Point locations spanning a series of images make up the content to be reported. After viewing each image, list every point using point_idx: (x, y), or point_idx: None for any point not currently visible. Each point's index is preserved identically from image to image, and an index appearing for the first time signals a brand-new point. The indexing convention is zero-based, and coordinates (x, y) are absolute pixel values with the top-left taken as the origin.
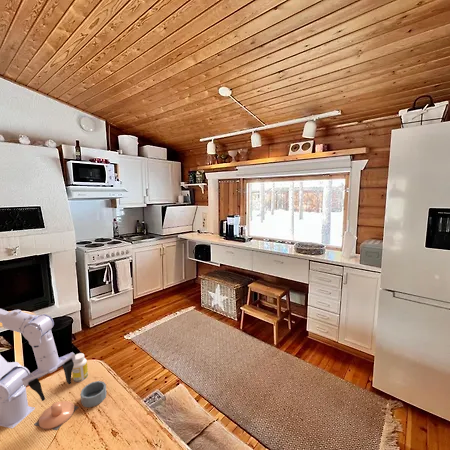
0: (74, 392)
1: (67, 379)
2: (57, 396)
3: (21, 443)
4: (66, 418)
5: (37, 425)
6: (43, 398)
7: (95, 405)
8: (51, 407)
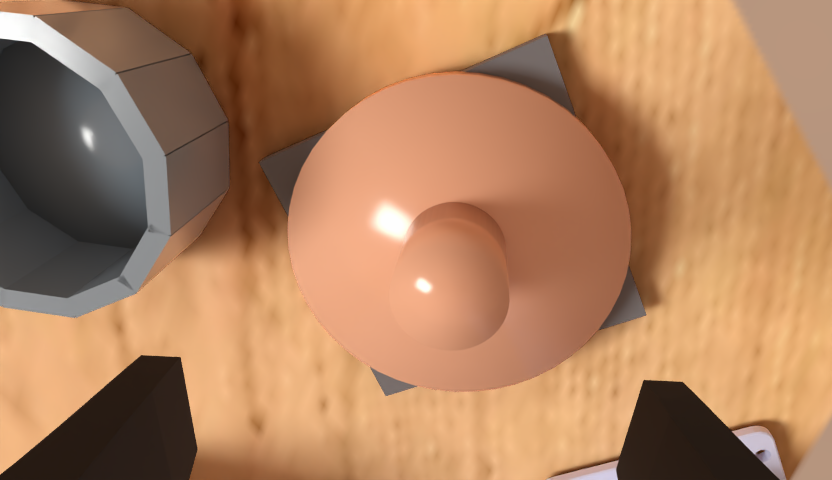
0: (229, 390)
1: (136, 475)
2: (355, 466)
3: (811, 202)
4: (418, 84)
5: (630, 277)
6: (688, 404)
7: (113, 8)
8: (498, 312)
